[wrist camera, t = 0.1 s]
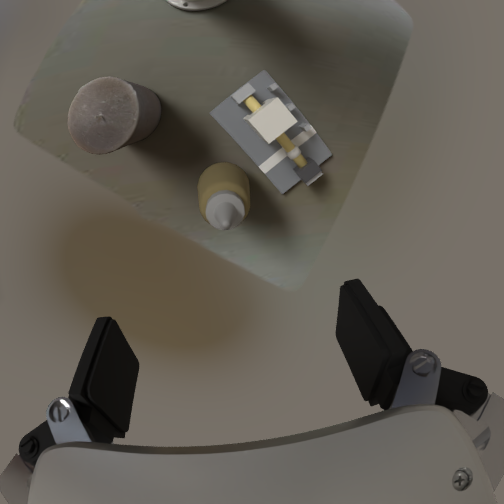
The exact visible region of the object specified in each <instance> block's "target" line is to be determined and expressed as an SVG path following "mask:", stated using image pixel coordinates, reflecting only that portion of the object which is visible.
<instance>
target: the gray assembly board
mask: <svg viewBox="0 0 504 504" xmlns="http://www.w3.org/2000/svg"><path fill="white" fill-rule="evenodd" d="M276 97H278V98H279V99H280V101H281V102H282V103H283V104H284V105H285V107H286V108H287V109H288V110H289V111H290V113H291V114H292V115H293V116H294V118H295V119H296V120H297V121H298V122H296V123H295V124H294V125H292V126H291V127H290V128H288V129H287V130H286V131H285V132H283V133H282V134H281V135H280V136H278V137H277V138H276V139H275V140H273V141H272V142H271V143H270V144H268V143H267V142H265V141H264V140H262V139H261V138H260V137H259V136H258V135H257V134H256V133H255V132H254V131H253V129H252V128H251V127H250V126H249V125H248V124H247V123H246V122H245V121H244V119H243V118H244V117H245V116H246V115H251V114H252V113H253V112H255V111H256V110H257V109H258V108H260V107H261V106H262V105H263V104H262V103H263V102H264V101H265V100H267V99H272V98H276ZM210 114H211V115H212V116H213V117H214V119H215V120H216V121H217V122H218V123H219V124H220V125H221V126H222V127H223V128H224V129H225V130H226V131H227V132H228V133H229V134H230V136H231V137H232V138H233V139H234V140H235V141H236V142H237V143H238V144H239V145H240V146H241V148H242V149H243V150H244V151H245V152H246V153H247V154H248V155H249V156H250V158H251V159H252V160H253V161H254V162H255V163H256V164H257V166H258V167H259V168H260V169H261V170H262V171H263V172H264V174H265V175H266V176H267V177H268V178H269V179H270V180H271V182H272V183H273V184H274V185H275V186H276V187H277V189H278V190H279V191H280V192H281V193H282V194H283V193H285V192H286V191H287V190H288V189H290V188H291V187H292V186H293V185H295V184H296V183H297V182H298V181H300V180H302V181H303V182H304V183H305V184H306V185H308V186H309V185H310V184H311V183H312V182H314V181H315V180H316V179H317V178H319V177H320V176H321V175H322V174H323V173H322V172H321V171H322V170H321V168H320V167H319V166H318V165H320V164H321V163H322V162H324V161H325V160H326V159H327V158H329V157H330V156H331V155H332V153H331V152H330V151H329V149H328V148H327V146H326V145H325V144H324V142H323V141H322V140H321V138H320V137H319V135H318V134H317V133H316V131H315V130H314V129H313V127H312V126H311V125H310V123H309V122H308V121H307V120H306V118H305V117H304V116H303V114H302V113H301V112H300V111H299V109H298V108H297V107H296V106H295V104H294V103H293V102H292V101H291V100H290V98H289V97H288V96H287V95H286V94H285V92H284V91H283V90H282V89H281V88H280V87H279V85H278V84H277V83H276V82H275V81H274V80H273V78H272V77H271V76H270V75H269V74H268V73H267V72H266V71H265V70H263V71H262V72H260V73H259V74H258V75H256V76H255V77H254V78H252V79H251V80H250V81H248V82H247V83H246V84H244V85H243V86H242V87H241V88H239V89H238V90H237V91H235V92H234V93H233V94H232V95H230V96H229V97H228V98H227V99H226V100H224V101H223V102H222V103H221V104H220V105H218V106H217V107H216V108H215V109H214V110H212V111H211V112H210Z"/></svg>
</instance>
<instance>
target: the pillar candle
mask: <svg viewBox="0 0 504 504" xmlns="http://www.w3.org/2000/svg"><path fill="white" fill-rule="evenodd" d="M160 118H161V105H160V101H159V99H158V97H157V96H156V94H155V93H154V92H153V91H151V90H150V89H148V88H146V87H144V86H141V85H138V84H135V83H132V82H128V81H125V80H122V79H120V78H118V77H117V78H115V77H112V76H110V77H100V78H98V79H95V80H93V81H91V82H89V83H88V84H86V85H84V86H82V87H81V88H80V89H79V91H78V94H77V95H76V96H75V98H74V99H73V102H72V104H71V106H70V109H69V114H68V128H69V132H70V135H71V137H72V139H73V140H74V142H75V143H76V144H77V145H78V147H79V148H81V149H83V150H84V151H86V152H89V153H92V154H107V153H110V152H113V151H115V150H118V149H120V148H122V147H125V146H127V145H130V144H133V143H135V142H138V141H141V140H143V139H145V138H146V137H148V136H149V135H150V134H151V133H152V132H153V131H154V130H155V129H156V127H157V125H158V123H159V121H160Z"/></svg>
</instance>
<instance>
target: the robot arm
mask: <svg viewBox="0 0 504 504" xmlns="http://www.w3.org/2000/svg"><path fill="white" fill-rule="evenodd" d="M226 1H227V0H166V2H168V3H169V4H170V5H172V6H174V7H176V8H178V9H182V10H188V11H200V10H207V9H210V8H214V7H216V6H219V5H221V4H222V3H224V2H226ZM186 5H188V6H187V7H185V6H186ZM336 338H337V340H338V343H339V345H340V347H341V349H342V351H343V354H344V356H345V358H346V360H347V362H348V365H349V367H350V369H351V372H352V374H353V376H354V378H355V381H356V383H357V385H358V387H359V390H360V392H361V395H362V397H363V398H364V400H365V401H369V403H370V406H374V405H377V404H379V405H380V407H381V408H382V409H383V410H382V412H378V413H375V414H371V415H368V416H365V417H362V418H358V419H355V420H352V421H348V422H344V423H341V424H337V425H333V426H330V427H325V428H322V429H317V430H313V431H309V432H305V433H300V434H295V435H290V436H284V437H279V438H273V439H266V440H260V441H253V442H245V443H237V444H225V445H213V446H191V447H153V446H133V445H119V444H114V443H113V438H114V437H117V438H125V432H127V431H128V430H129V424H130V417H131V411H132V403H133V399H134V392H135V387H136V382H137V377H138V371H139V362H138V359H137V358H136V356H135V354H134V353H133V351H132V349H131V347H130V346H129V344H128V342H127V341H126V339H125V337H124V335H123V333H122V331H121V330H120V328H119V326H118V324H117V322H116V321H115V320H113V319H112V318H111V317H100V318H97V320H96V322H95V324H94V327H93V329H92V331H91V334H90V336H89V338H88V341H87V343H86V346H85V349H84V351H83V353H82V356H81V359H80V361H79V364H78V367H77V370H76V372H75V375H74V378H73V381H72V384H71V387H70V390H69V397H68V398H66V397H58V398H56V399H54V400H53V401H52V402H51V403H50V404H49V405H48V408H47V410H46V417H47V420H46V421H45V422H43V423H42V424H41V425H39V426H38V427H36V428H35V429H34V430H32V431H31V432H30V433H28V434H27V435H25V436H24V437H23V438H22V440H21V441H20V444H19V453H20V455H18V454H16V455H15V456H14V457H13V459H12V460H11V461H10V463H9V464H8V466H7V467H6V469H5V470H4V471H3V473H2V474H1V475H0V492H1V493H2V495H3V496H4V498H5V499H6V500H7V502H8V503H9V504H497V501H496V498H495V494H494V491H495V489H496V487H497V486H498V484H499V482H500V480H501V478H502V476H503V475H504V399H503V398H501V397H499V396H498V395H496V394H495V393H492V394H489V393H488V389H487V386H486V384H485V383H484V382H483V381H482V380H481V379H479V378H477V377H474V376H470V375H467V374H464V373H460V372H456V371H453V370H450V369H447V368H443V367H441V362H440V359H439V358H438V357H437V355H436V354H434V353H433V352H432V351H429V350H425V349H419V350H415V351H412V349H411V348H410V346H409V345H408V343H407V342H406V340H405V339H404V337H403V335H402V334H401V332H400V331H399V330H398V328H397V327H396V325H395V324H394V322H393V321H392V319H391V318H390V316H389V315H388V313H387V312H386V311H385V309H384V308H383V307H382V306H378V305H377V303H376V302H375V301H374V299H373V298H372V296H371V295H370V294H369V292H368V291H367V289H366V288H365V286H364V285H363V284H362V282H361V281H360V280H359V279H354V280H349V281H345V282H344V285H342V286H341V287H340V296H339V307H338V317H337V325H336Z"/></svg>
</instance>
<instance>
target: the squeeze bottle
mask: <svg viewBox="0 0 504 504" xmlns="http://www.w3.org/2000/svg"><path fill="white" fill-rule="evenodd" d="M197 190H198V199H199V207H200V213H201V214H202V216H203V218H204V219H205V221H207V222H208V223H209V224H211V225H212V226H214V227H215V228H217V229H221V230H230V229H233V228H235V227H237V226H238V225H239V224H240V223H241V222H242V221H243V220H244V219H245V218H246V217H247V215H248V212H249V209H250V186H249V179H248V177H247V175H246V173H245V172H244V171H243V170H242V169H241V168H240V167H238V166H237V165H235V164H231V163H228V162H223V163H215V164H213V165H212V166H210V167H208V168H206V169H205V171H204V172H203V173H202V174H201V176H200V178H199V181H198V185H197Z"/></svg>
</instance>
